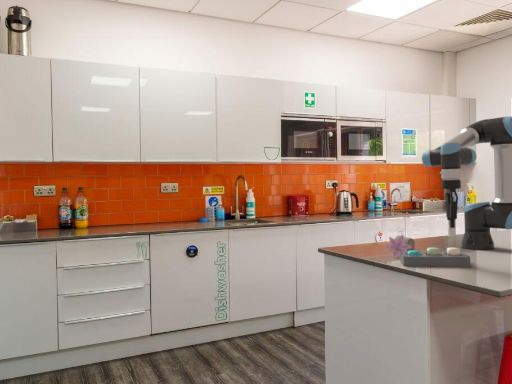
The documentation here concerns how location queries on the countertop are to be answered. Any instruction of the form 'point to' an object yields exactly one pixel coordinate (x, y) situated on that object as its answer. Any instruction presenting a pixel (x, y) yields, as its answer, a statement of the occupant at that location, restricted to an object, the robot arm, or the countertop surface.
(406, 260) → the console
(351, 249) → the countertop surface
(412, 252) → the teal button
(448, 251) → the cream button
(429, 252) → the sage button
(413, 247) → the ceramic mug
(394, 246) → the lily
